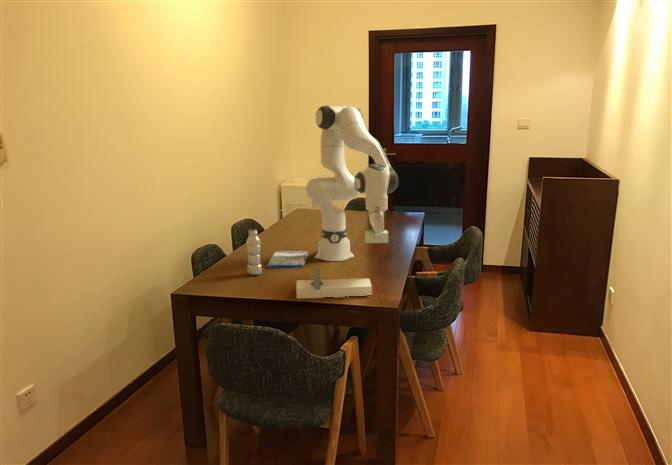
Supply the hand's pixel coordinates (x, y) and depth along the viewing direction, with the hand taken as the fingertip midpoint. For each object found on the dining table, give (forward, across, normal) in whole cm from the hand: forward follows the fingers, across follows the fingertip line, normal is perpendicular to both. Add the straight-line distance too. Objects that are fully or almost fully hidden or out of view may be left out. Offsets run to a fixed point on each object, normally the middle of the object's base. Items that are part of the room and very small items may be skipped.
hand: (376, 238), depth 220 cm
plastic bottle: (+19, +15, +52) cm, 57 cm away
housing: (+19, -12, +18) cm, 29 cm away
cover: (+1, 0, 0) cm, 1 cm away
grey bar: (+14, -12, +25) cm, 31 cm away
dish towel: (+20, +34, +38) cm, 55 cm away
